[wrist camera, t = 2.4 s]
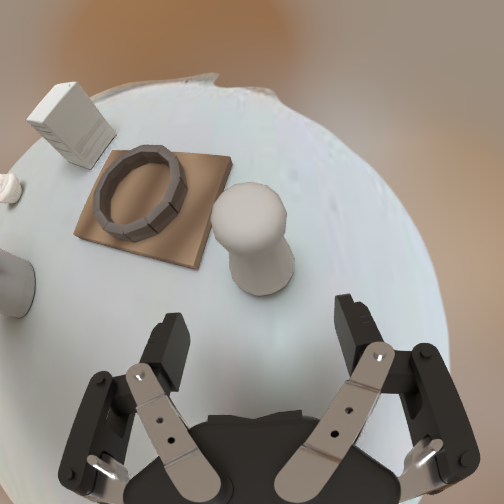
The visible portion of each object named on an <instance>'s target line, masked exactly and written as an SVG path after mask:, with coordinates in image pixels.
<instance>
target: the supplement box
mask: <svg viewBox="0 0 504 504" xmlns="http://www.w3.org/2000/svg"><path fill="white" fill-rule="evenodd" d="M27 122H28V123H29V124H30V125H31V126H32V127H33V128H34V129H35V130H36V131H37V132H38V133H39V134H40V135H42V137H44V138H45V139H46V140H47V141H48V142H49V143H50V144H51V145H52V146H53V147H54V148H55V149H56V150H57V151H58V152H59V153H60V154H61V155H62V156H63V157H64V158H65V159H66V160H67V161H69V162H71V163H74V164H77V165H79V166H82V167H85V168H87V169H92V167H93V165H94V164H95V162H96V161H97V160H98V158H99V157H100V155H101V154H102V152H103V151H104V150H105V148H106V147H107V146H108V144H109V143H110V142H111V140H112V139H113V138H114V136H115V135H116V133H115V131H114V130H113V129H112V128H111V126H110V125H109V124H108V122H107V121H106V120H105V118H104V117H103V116H102V114H101V113H100V112H99V110H98V109H97V108H96V106H95V105H94V104H93V102H92V101H91V100H90V98H89V97H88V96H87V94H86V93H85V92H84V90H83V89H82V88H81V86H80V85H79V83H78V82H69V83H63V84H56V85H55V86H54V87H53V88H52V89H51V90H50V92H49V93H48V94H47V95H46V96H45V97H44V98H43V100H42V101H41V102H40V103H39V104H38V106H37V107H36V108H35V109H34V111H33V112H32V113H31V115H30V116H29V117H28V118H27Z"/></svg>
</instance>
